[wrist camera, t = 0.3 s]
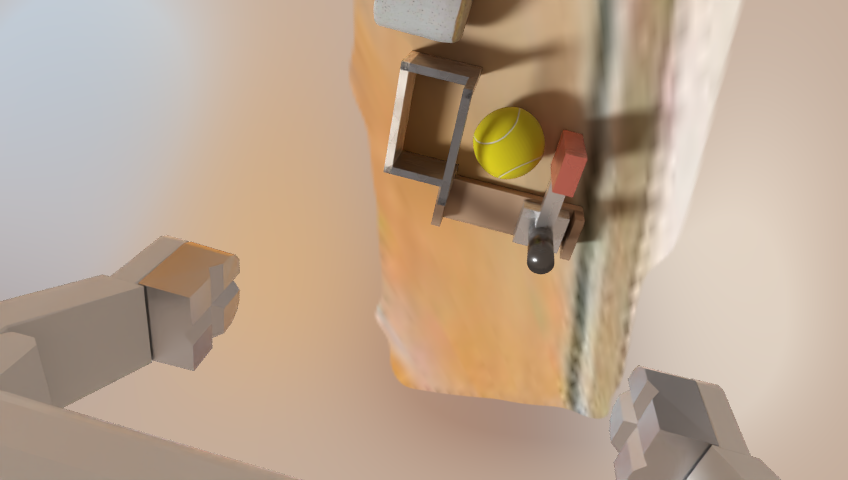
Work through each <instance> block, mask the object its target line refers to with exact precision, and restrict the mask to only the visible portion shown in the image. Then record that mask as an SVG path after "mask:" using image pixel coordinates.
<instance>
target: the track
mask: <svg viewBox="0 0 848 480" xmlns="http://www.w3.org/2000/svg"><path fill="white" fill-rule="evenodd" d="M440 190H441V187H439V192H438V196H437V200H436V205H435V209H434V213H433V218H432V222H431V224H432V225H435V226H439V227H440V224H441V221H442V218H443V217H446V218H450V219H453V220H457V221H461V222H465V223H469V224H473V225H476V226H480V227H484V228H488V229H492V230H496V231H499V232H503V233H507V234H511V235H513V233H514V230H515V227H516V224H517V221H518V218H519V215H520V212H521V209H522V206H523V203H524V200H527V201H531V202H535V203H539V204H541V203H542V201H543V198H544V197H541V196H537V195H533V194H529V193H526V192H522V191H518V190H514V189H510V188H506V187H502V186H498V185H494V184H490V183H486V182H483V181H479V180H475V179H471V178H467V177H463V176H459V175H456V176H455V179H454V182H453V185H452V187H451V190H450V193H449V196H448V199H447V202H446V205H445V206H442V205H438V204H437V203H438V198H439V194H440ZM561 209H562V210H566V211H569V216H570V221H569V223H568V226H567V228H566V231H565V233H564V236H563V239H562V241H561V244H560V246H559V247H560V258H561V259H565V260H570V257H571V255H572V253H573V250H574V248H575V245H576V243H577V240H578V238H579V235H580V233H581V231H582V228H583V226H584V223H585V220H584V213H583V207H580V206H576V205H572V204H569V203H565V202H563V204H562V206H561Z"/></svg>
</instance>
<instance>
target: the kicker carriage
mask: <svg viewBox="0 0 848 480" xmlns="http://www.w3.org/2000/svg"><path fill="white" fill-rule="evenodd" d="M586 162H587V154H586V149H585V144H584V139H583V135H582V134H579V133H575V132H571V131H567V130H563V131H562V134H561V137H560V140H559V143H558V146H557V149H556V151H555V154H554V157H553V160H552V163H551V178H550V181H549V183H548V186H547V189H546V192H545V195H544V198H543V201H542V203H541V204H539V203H535V202H531V201H527V200H524V203H523V206H522V209H521V212H520V215H519V218H518V221H517V224H516V227H515V230H514V233H513V242H515V243H519V244H522V245H526V246H528V256H527V265H528V267H529V269H530V270H531V271H532V272H534V273H537V274H545V273H548V272H549V271H551V270H552V269H553V267H554V253H557V251H558V249H559V246H560V244H561V241H562V239H563V236H564V233H565V231H566V228H567V226H568V223H569V221H570V216H569V211H566V210H562V209H561V206H562V204H563V201H564V198H565V196H569V197H573V196H574V193H575V190H576V188H577V185H578V183H579V180H580V177H581V175H582V172H583V170H584V167H585V164H586Z"/></svg>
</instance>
